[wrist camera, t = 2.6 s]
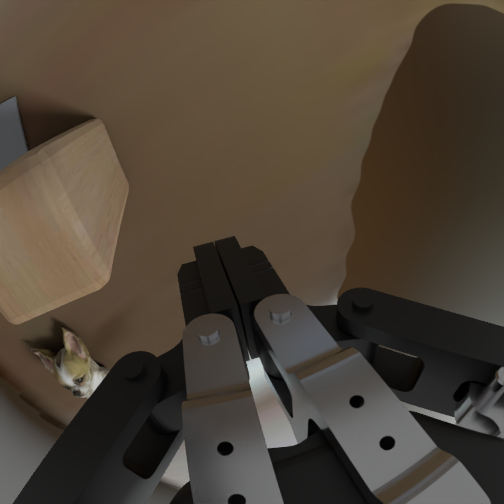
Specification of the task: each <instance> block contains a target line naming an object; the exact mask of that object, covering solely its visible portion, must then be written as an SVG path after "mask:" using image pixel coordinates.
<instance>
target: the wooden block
mask: <svg viewBox="0 0 504 504" xmlns="http://www.w3.org/2000/svg"><path fill="white" fill-rule="evenodd" d="M128 192H129V184H128V182H127V179H126V177H125V175H124V172H123V170H122V168H121V165H120V163H119V161H118V158H117V156H116V153H115V151H114V149H113V146H112V144H111V141H110V139H109V136H108V134H107V131H106V129H105V126H104V123H103V122H102V121H101V120H100V119H99V118H98V119H91V120H89V121H87V122H84V123H82V124H80V125H78V126H76V127H74V128H72V129H69V130H67V131H65V132H63V133H61V134H59V135H57V136H55V137H53V138H52V139H50V140H48V141H46V142H44V143H42V144H40V145H39V146H37V147H35V148H33V149H31V150H30V151H28V152H27V153H25V154H23V155H22V156H20V157H19V158H17V159H16V160H15V161H13V162H12V163H10V164H9V165H7V166H6V167H5V168H3V169H2V170H0V312H1V313H2V314H3V316H4V317H5V318H6V319H7V320H8V321H9V322H11V323H12V324H21V323H23V322H25V321H27V320H30V319H32V318H34V317H36V316H39V315H41V314H43V313H46V312H48V311H50V310H53V309H55V308H57V307H60V306H62V305H64V304H67V303H69V302H71V301H74V300H76V299H78V298H81V297H83V296H85V295H88V294H90V293H92V292H95V291H97V290H100V289H101V288H102V287H103V286H104V285H105V284H106V283H107V282H108V281H109V280H110V275H111V269H112V263H113V258H114V253H115V248H116V243H117V238H118V234H119V229H120V225H121V221H122V216H123V212H124V208H125V204H126V200H127V196H128Z"/></svg>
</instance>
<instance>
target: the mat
mask: <svg viewBox="0 0 504 504" xmlns="http://www.w3.org/2000/svg"><path fill="white" fill-rule="evenodd" d="M28 151H29V150H28V147H27V143H26V139H25V135H24V131H23V127H22V123H21V119H20V114H19V110H18V105H17V100H16V96H14V97H12V98H11V99H9V100H7V101H5V102H3V103H1V104H0V170H2V169H3V168H5V167H6V166H7V165H9V164H10V163H12V162H13V161H15V160H16V159H17V158H19V157H20V156H22V155H23V154H25V153H27V152H28Z"/></svg>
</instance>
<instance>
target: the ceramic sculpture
mask: <svg viewBox="0 0 504 504" xmlns="http://www.w3.org/2000/svg"><path fill="white" fill-rule="evenodd" d="M62 331H63V343H64V347H65V348H63V349H61V350H60V351H59V352H58V353H57V355H56V354H54V353H53V352H52V351H50V350H47V349H36V348H32V349H31V351H32V352H33V353H35V354H36V355H38V357H39V358H40V360H41V361H42V362H43V363H44V366H45V367H46V368H47V369H48V370H49V371H50V372H51V373H52V374H54V375H55V378H56V380H57V381H58V382H59V383H61V384H62V385H63V387H65V388H66V389H68V390H71V391H72V394H73V395H74V396H76V397H79V398H80V397H81V398H83V397H86V398H87V399H88V398H89V397H90V396H91V395H92V393H93V392H94V391H95V389H96V388H97V387H98V385H99V384H100V383H101V382H102V380H103V379H104V378H105V376H106V375H107V374H108V373H109V369H108V368H106V367H100V366H98V365H97V364H96V363H95V362H94V361H93V360H92V359H91V357H90V354H89V351H88V349H87V347H86V346H85V343H84V342H83V340H82V339H81V337H80V336H79V335H77V334H76V333H75V332H73V331H71V330H69V329H67V328H65V327H62Z"/></svg>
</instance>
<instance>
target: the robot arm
mask: <svg viewBox="0 0 504 504" xmlns="http://www.w3.org/2000/svg"><path fill="white" fill-rule="evenodd" d="M214 242H215V246H214V243H213V242H210V243H206V244H202V245H198V246H195V247H193V249H194V253H195V257H196V261H193V262H190V263H186V264H182V266H181V268H180V270H179V272H178V281H179V287H180V293H181V300H182V306H183V312H184V318H185V323H186V327H185V329H184V331H183V336H182V340H181V341H180V343H179V344H178V345H177V346H175V347H174V348H173V349H171V350H170V351H168V352H166V353H164V354H162V355H161V356H159V357H156V356H154V355H153V354H151V353H149V352H145V351H137V352H132V353H129V354H127V355H125V356H124V357H122V358H121V359H120V360H118V361H117V363H116V364H115V365H114V366H113V367H112V369H111V370H110V371H109V373H108V374H107V375H106V376H105V378H104V379H103V380H102V382H101V383H100V384H99V385H98V387H97V388H96V389H95V391H94V392H93V393H92V395H91V396H90V397H89V398H88V400H87V401H86V402H85V404H84V405H83V406H82V408H81V409H80V410H79V412H78V413H77V414H76V416H75V417H74V418H73V420H72V421H71V422H70V424H69V425H68V426H67V428H66V429H65V430H64V432H63V433H62V435H61V436H60V437H59V439H58V440H57V441H56V443H55V444H54V446H53V447H52V448H51V450H50V451H49V452H48V454H47V455H46V457H45V458H44V459H43V461H42V462H41V464H40V465H39V466H38V468H37V469H36V471H35V472H34V473H33V475H32V476H31V478H30V479H29V481H28V482H27V484H26V485H25V486H24V488H23V489H22V491H21V493H20V494H19V495H18V497H17V498H16V500H15V501H14V503H13V504H146V502H147V500H148V499H149V497H150V496H151V494H152V492H153V491H154V489H155V487H156V486H157V484H158V482H159V481H160V479H161V478H162V476H163V474H164V473H165V471H166V469H167V468H168V466H169V464H170V462H171V461H172V459H173V457H174V456H175V454H176V452H177V451H178V449H179V447H180V446H181V444H182V442H183V440H184V439H185V447H186V455H187V463H188V470H189V477H190V481H189V482H188V483H186V484H185V485H184V486H183V487H182V488H181V489H180V490H179V491H178V492H177V494H176V495H175V496H174V498H173V499H172V501H171V502H170V504H504V327H502V326H499V325H495V324H492V323H488V322H485V321H481V320H477V319H474V318H470V317H467V316H463V315H460V314H456V313H452V312H449V311H445V310H442V309H439V308H435V307H431V306H428V305H424V304H421V303H418V302H414V301H410V300H407V299H404V298H400V297H396V296H393V295H390V294H386V293H383V292H379V291H376V290H372V289H368V288H354V289H350V290H348V291H346V292H344V293H343V294H342V295H341V296H340V297H339V299H338V302H337V305H326V306H309V305H306V304H305V303H304V302H303V301H302V300H301V299H300V298H298V297H296V296H293V295H290V294H289V292H288V291H287V289H286V287H285V286H284V284H283V283H282V281H281V279H280V278H279V276H278V275H277V273H276V272H275V270H274V269H273V267H272V265H271V264H270V262H269V261H268V259H267V257H266V256H265V254H264V253H263V251H261V250H259V249H258V248H256V247H254V246H249V247H245V248H242V249H241V247H240V245H239V243H238V241H237V240H236V238H235V236H232V237H229V238H225V239H221V240H217V241H214ZM379 345H383V346H385V347H389V348H392V349H395V350H398V351H401V352H404V353H407V354H411V355H414V356H417V357H418V358H415V357H410V356H407V355H404V354H401V353H398V352H394V351H392V350H388V349H385V348H382V347H379ZM247 348H248V350H247ZM248 351H249V353H250V356H251V359H254V358H258V357H260V360H261V362H262V365H263V368H264V373H265V377H266V379H267V381H268V383H269V385H270V387H271V389H272V391H273V393H274V394H275V396H276V398H277V400H278V402H279V404H280V406H281V407H282V409H283V411H284V413H285V415H286V417H287V418H288V420H289V422H290V424H291V426H292V429H293V432H294V435H295V438H296V440H297V442H298V444H297V445H294V446H288V447H279V448H268V449H267V445H266V442H265V438H264V435H263V431H262V428H261V424H260V421H259V417H258V413H257V410H256V406H255V402H254V399H253V395H252V391H251V387H250V384H249V372H248V368H247V364H246V361H248V360H250V359H249V355H248ZM401 401H402V402H405V403H409V404H412V405H415V406H418V407H422V408H425V409H428V410H431V411H435V412H438V413H441V414H445V415H449V416H452V417H455V420H456V425H454V424H451V423H448V422H444V421H441V420H438V419H435V418H432V417H429V416H426V415H423V414H420V413H417V412H413V411H408V410H407V409H406V407H405V406H404V405H403V404H402V403H401Z"/></svg>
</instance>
